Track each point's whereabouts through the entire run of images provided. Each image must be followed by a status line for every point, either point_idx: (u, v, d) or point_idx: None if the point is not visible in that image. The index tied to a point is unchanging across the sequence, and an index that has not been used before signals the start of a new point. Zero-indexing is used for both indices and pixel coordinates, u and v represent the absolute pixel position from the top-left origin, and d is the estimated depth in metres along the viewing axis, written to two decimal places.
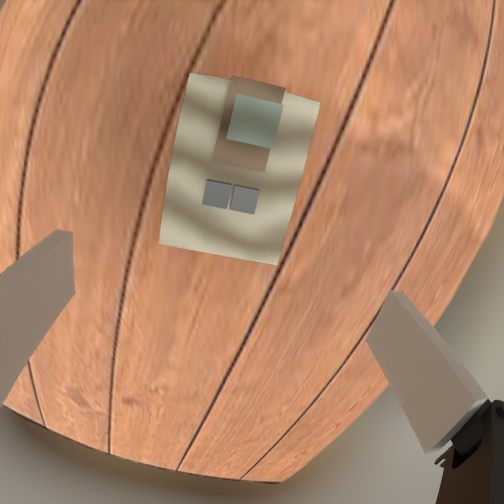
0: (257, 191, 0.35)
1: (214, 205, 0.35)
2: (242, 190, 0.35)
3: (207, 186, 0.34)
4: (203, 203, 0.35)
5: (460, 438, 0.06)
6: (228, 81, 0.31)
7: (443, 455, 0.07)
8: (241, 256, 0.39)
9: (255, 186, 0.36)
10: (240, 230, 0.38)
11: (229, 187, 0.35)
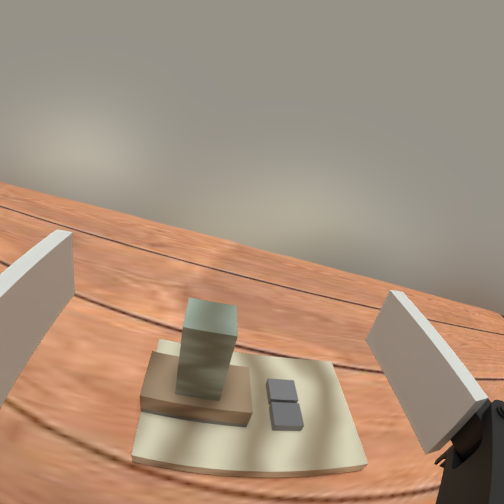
0: (269, 380, 0.30)
1: (300, 414, 0.26)
2: (273, 392, 0.29)
3: (281, 423, 0.25)
4: (302, 424, 0.25)
5: (460, 438, 0.06)
6: (143, 414, 0.23)
7: (443, 455, 0.07)
8: (338, 388, 0.32)
9: (263, 387, 0.30)
10: (314, 394, 0.31)
11: (274, 403, 0.27)
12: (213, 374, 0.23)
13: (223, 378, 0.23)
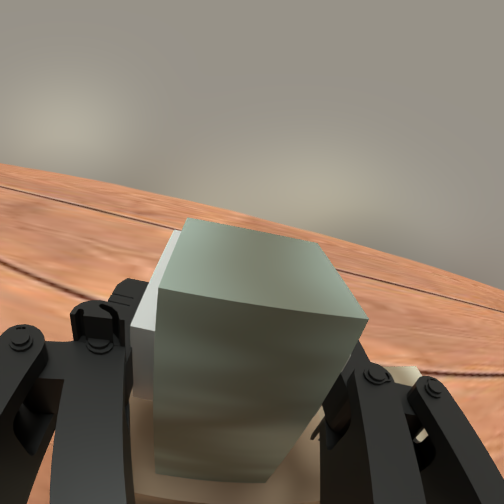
0: None
1: None
2: None
3: None
4: None
5: (329, 410, 0.07)
6: None
7: (316, 429, 0.08)
8: None
9: None
10: None
11: None
12: (261, 439, 0.07)
13: (287, 445, 0.07)
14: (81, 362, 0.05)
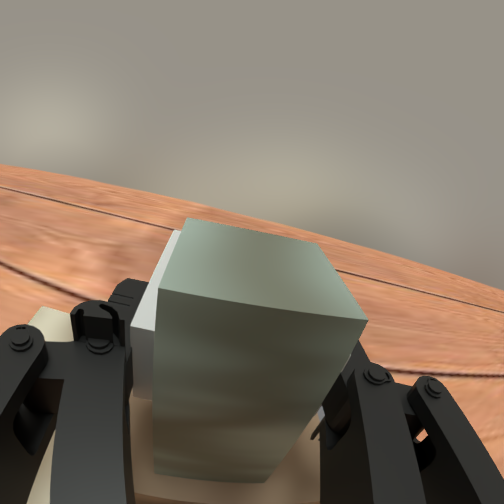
0: None
1: None
2: None
3: None
4: None
5: (329, 410, 0.07)
6: None
7: (316, 429, 0.08)
8: None
9: None
10: None
11: None
12: (260, 440, 0.07)
13: (286, 446, 0.07)
14: (81, 362, 0.05)
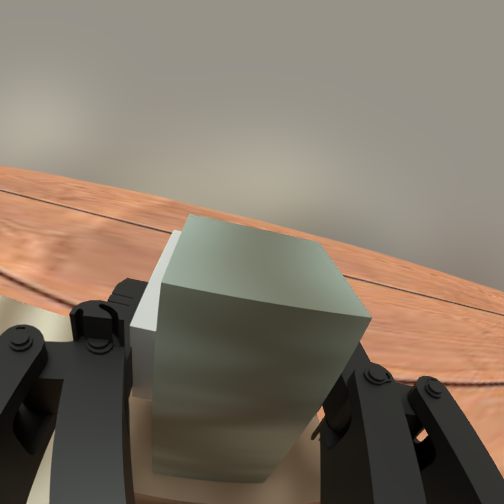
0: None
1: None
2: None
3: None
4: None
5: (329, 410, 0.07)
6: None
7: (317, 430, 0.08)
8: None
9: None
10: None
11: None
12: (260, 439, 0.07)
13: (286, 445, 0.07)
14: (81, 362, 0.05)
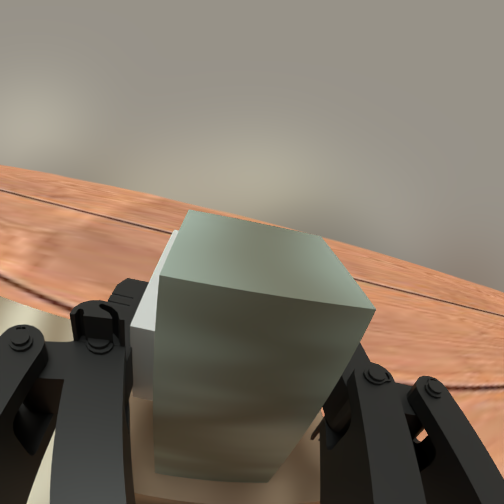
0: None
1: None
2: None
3: None
4: None
5: (329, 410, 0.07)
6: None
7: (316, 429, 0.08)
8: None
9: None
10: None
11: None
12: (264, 437, 0.07)
13: (291, 443, 0.07)
14: (81, 362, 0.05)
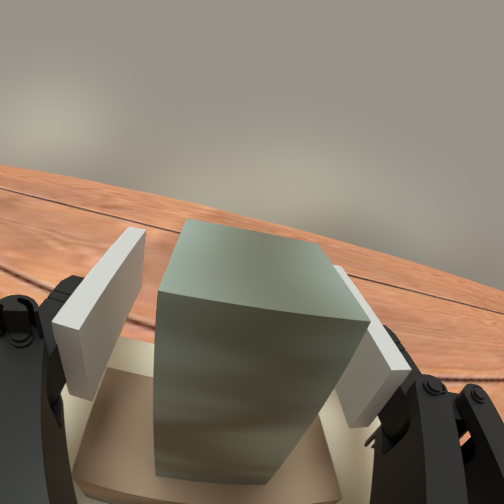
0: None
1: None
2: None
3: None
4: None
5: (386, 418, 0.07)
6: None
7: (371, 437, 0.08)
8: (377, 417, 0.15)
9: None
10: (333, 433, 0.14)
11: None
12: (261, 442, 0.07)
13: (288, 447, 0.07)
14: (5, 356, 0.04)
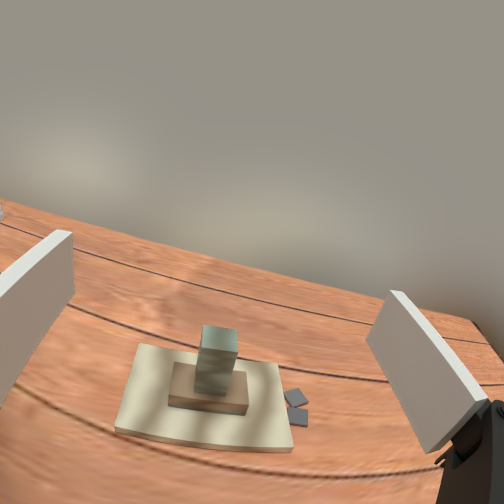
0: (284, 393, 0.41)
1: (306, 417, 0.37)
2: (291, 401, 0.40)
3: (292, 421, 0.36)
4: (306, 424, 0.36)
5: (460, 438, 0.06)
6: (124, 398, 0.32)
7: (443, 455, 0.07)
8: (279, 386, 0.41)
9: None
10: (257, 389, 0.40)
11: (290, 407, 0.39)
12: (221, 377, 0.33)
13: (228, 380, 0.33)
14: None
